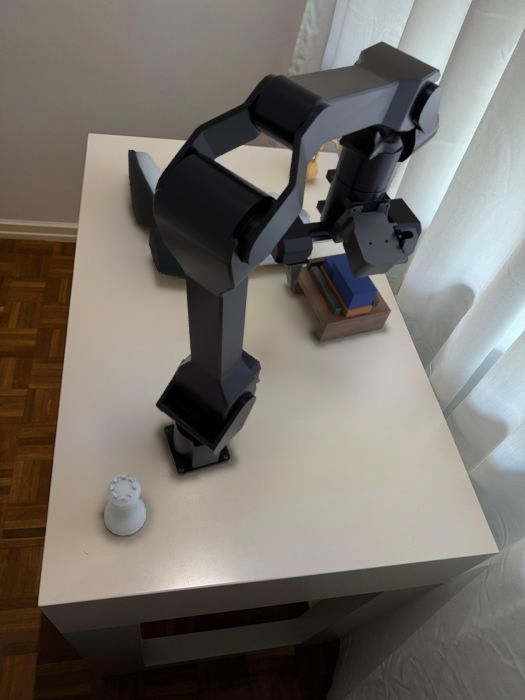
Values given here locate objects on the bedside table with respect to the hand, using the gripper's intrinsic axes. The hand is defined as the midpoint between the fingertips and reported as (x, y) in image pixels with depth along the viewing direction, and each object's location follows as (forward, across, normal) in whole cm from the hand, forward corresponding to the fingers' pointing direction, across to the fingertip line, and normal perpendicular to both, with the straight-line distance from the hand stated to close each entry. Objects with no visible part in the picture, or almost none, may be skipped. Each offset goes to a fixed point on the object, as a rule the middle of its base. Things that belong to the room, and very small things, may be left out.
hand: (323, 280), depth 72 cm
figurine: (+12, +16, +34) cm, 39 cm away
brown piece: (+12, +8, +4) cm, 15 cm away
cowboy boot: (+12, -4, +26) cm, 29 cm away
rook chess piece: (+13, -29, -18) cm, 36 cm away
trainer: (+8, +8, +4) cm, 12 cm away
